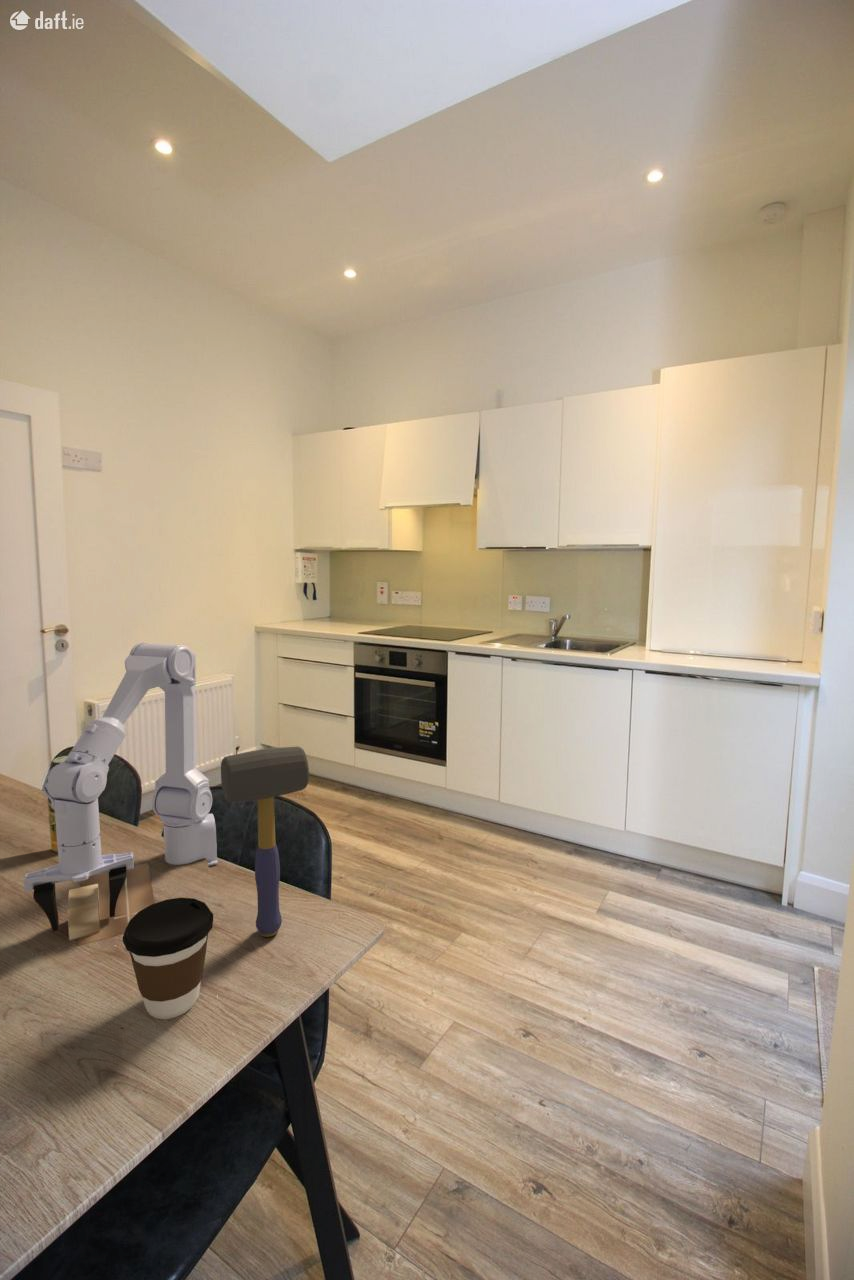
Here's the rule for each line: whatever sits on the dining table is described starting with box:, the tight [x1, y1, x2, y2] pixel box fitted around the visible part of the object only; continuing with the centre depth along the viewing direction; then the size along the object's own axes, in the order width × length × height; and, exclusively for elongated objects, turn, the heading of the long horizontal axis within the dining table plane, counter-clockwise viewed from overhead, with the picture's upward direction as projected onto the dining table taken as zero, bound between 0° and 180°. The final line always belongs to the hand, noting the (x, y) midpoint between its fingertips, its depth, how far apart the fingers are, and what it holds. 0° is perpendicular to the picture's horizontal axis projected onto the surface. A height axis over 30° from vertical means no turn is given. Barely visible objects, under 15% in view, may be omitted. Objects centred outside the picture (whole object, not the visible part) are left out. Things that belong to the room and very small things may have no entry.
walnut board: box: [76, 862, 156, 947], centre depth 99 cm, size 11×22×2 cm, turn 29°
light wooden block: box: [66, 884, 100, 941], centre depth 91 cm, size 4×6×6 cm, turn 29°
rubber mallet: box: [220, 746, 310, 938], centre depth 91 cm, size 12×8×30 cm, turn 119°
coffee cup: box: [122, 897, 214, 1020], centre depth 77 cm, size 11×11×12 cm
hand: (84, 920), depth 92 cm, fingers open, 7 cm apart
